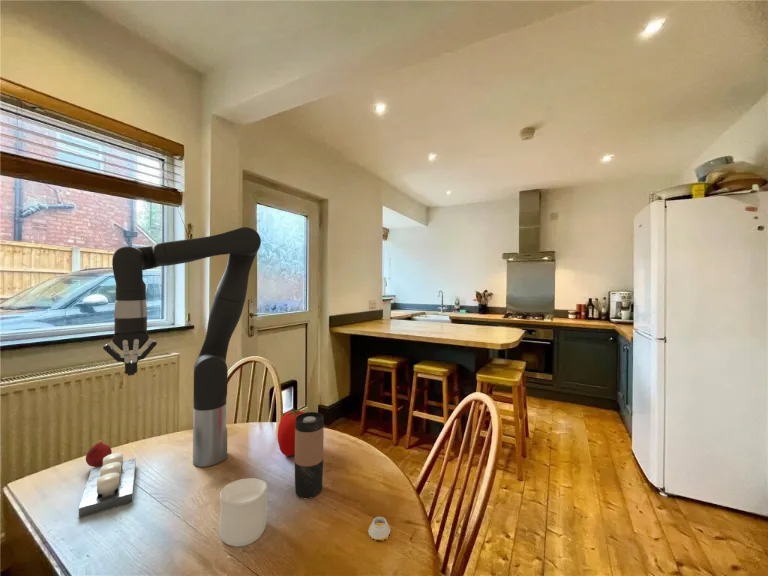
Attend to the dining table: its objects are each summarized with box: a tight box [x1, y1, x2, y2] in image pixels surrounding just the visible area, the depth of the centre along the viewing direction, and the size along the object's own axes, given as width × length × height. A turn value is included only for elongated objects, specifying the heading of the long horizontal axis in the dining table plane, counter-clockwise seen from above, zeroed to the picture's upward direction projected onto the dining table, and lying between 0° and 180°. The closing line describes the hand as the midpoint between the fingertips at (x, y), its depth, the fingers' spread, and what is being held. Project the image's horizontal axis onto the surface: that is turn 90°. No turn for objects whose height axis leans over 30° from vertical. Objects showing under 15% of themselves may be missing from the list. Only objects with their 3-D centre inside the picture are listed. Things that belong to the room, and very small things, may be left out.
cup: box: [218, 477, 268, 548], centre depth 74 cm, size 10×10×10 cm
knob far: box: [102, 452, 124, 466], centre depth 93 cm, size 4×4×6 cm
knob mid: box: [100, 462, 121, 477], centre depth 88 cm, size 4×4×6 cm
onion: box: [85, 439, 113, 468], centre depth 98 cm, size 6×6×8 cm
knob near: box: [97, 473, 120, 497], centre depth 83 cm, size 4×4×6 cm
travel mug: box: [294, 411, 325, 499], centre depth 89 cm, size 8×8×20 cm
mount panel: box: [78, 457, 137, 519], centre depth 88 cm, size 10×20×2 cm, turn 35°
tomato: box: [276, 408, 306, 457], centre depth 108 cm, size 13×11×14 cm
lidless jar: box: [368, 516, 391, 539], centre depth 74 cm, size 5×3×5 cm
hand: (131, 374), depth 96 cm, fingers closed
